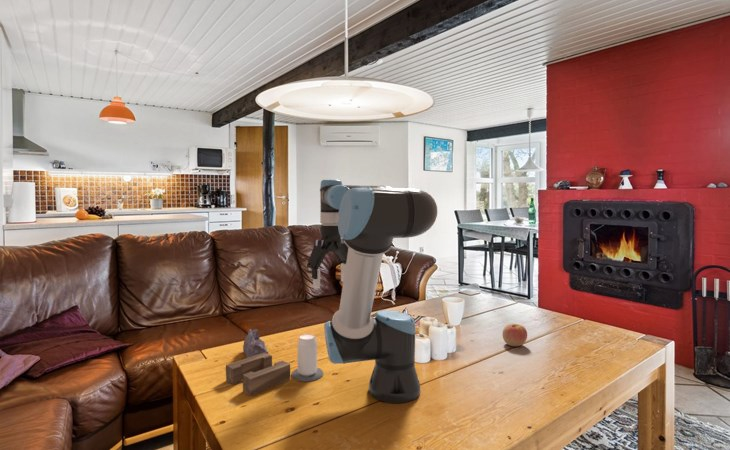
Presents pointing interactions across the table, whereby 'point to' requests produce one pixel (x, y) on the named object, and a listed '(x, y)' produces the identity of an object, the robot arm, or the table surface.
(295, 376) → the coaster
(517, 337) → the apple
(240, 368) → the notched wooden bars
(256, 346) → the stone
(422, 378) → the table surface
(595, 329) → the table surface
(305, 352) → the beverage can
